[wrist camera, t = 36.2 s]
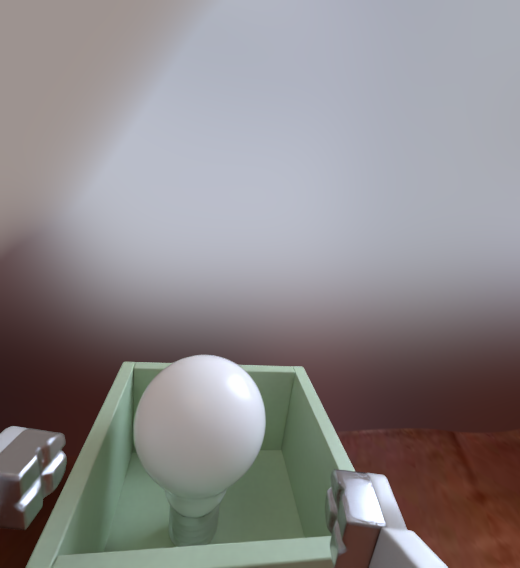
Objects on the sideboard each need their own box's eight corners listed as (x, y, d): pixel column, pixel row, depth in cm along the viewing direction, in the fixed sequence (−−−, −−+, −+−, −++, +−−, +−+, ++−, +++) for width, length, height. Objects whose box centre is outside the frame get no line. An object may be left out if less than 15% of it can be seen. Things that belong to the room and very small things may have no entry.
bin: (36, 731, 12) (15, 585, 10) (123, 455, 24) (123, 361, 21) (352, 681, 14) (397, 553, 12) (287, 452, 26) (303, 366, 24)
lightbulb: (138, 490, 20) (141, 333, 17) (237, 478, 22) (256, 333, 19) (124, 618, 14) (123, 416, 11) (259, 587, 16) (293, 404, 13)
